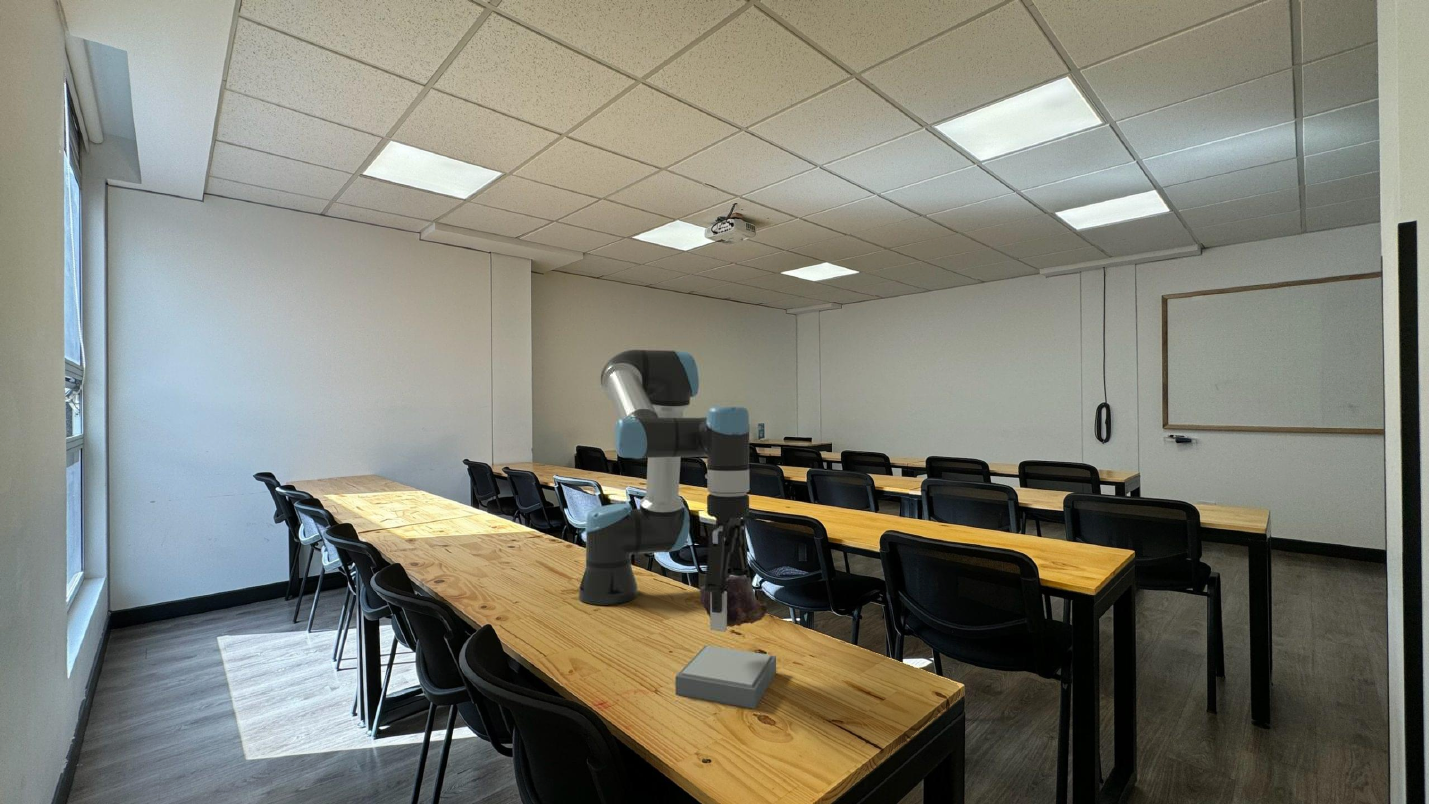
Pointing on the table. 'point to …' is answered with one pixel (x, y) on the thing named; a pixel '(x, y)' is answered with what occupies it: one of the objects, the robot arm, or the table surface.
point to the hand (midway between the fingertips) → (728, 620)
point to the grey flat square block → (727, 676)
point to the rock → (738, 602)
